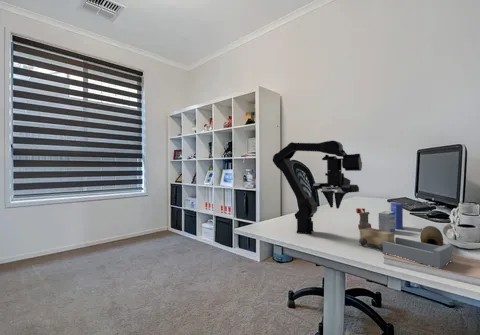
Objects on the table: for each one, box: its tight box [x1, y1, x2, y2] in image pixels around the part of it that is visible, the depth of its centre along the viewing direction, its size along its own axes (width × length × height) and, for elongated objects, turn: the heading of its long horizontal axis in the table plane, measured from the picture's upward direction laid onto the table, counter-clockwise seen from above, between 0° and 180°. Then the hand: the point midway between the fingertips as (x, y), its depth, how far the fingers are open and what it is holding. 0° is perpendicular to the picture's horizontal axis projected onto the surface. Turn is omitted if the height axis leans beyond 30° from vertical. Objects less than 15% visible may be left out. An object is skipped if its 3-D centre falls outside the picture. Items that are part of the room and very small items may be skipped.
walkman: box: [388, 201, 404, 230], centre depth 122 cm, size 8×3×12 cm, turn 170°
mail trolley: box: [358, 211, 395, 252], centre depth 91 cm, size 10×6×12 cm, turn 34°
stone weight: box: [419, 225, 445, 246], centre depth 92 cm, size 15×7×7 cm, turn 148°
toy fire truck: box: [355, 208, 372, 231], centre depth 115 cm, size 3×14×10 cm, turn 168°
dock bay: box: [359, 237, 453, 269], centre depth 85 cm, size 25×10×5 cm, turn 34°
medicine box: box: [378, 210, 396, 232], centre depth 114 cm, size 8×4×9 cm, turn 131°
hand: (334, 207), depth 106 cm, fingers open, 3 cm apart
